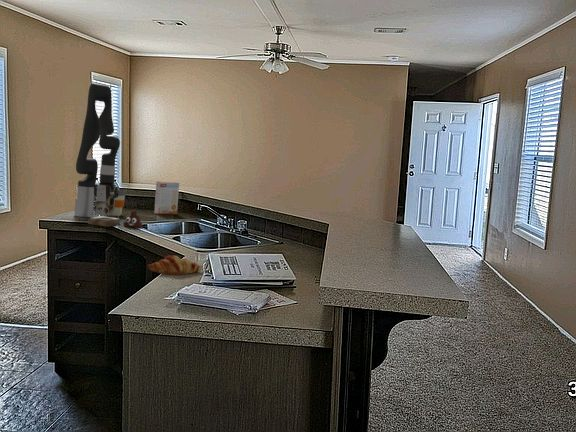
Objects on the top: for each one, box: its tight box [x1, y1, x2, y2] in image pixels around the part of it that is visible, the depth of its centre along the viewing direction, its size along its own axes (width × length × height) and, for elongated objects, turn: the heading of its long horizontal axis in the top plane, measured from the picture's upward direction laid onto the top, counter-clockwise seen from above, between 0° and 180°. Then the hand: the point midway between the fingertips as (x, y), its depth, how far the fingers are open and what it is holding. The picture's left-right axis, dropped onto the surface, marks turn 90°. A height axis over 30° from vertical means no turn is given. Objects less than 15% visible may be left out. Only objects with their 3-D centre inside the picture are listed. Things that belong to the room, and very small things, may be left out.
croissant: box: [147, 254, 203, 276], centre depth 225 cm, size 21×10×8 cm, turn 120°
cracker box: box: [153, 180, 180, 215], centre depth 386 cm, size 14×6×21 cm, turn 133°
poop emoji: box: [123, 209, 143, 229], centre depth 321 cm, size 10×8×9 cm
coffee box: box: [95, 183, 117, 217], centre depth 319 cm, size 9×6×16 cm
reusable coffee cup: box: [111, 188, 127, 217], centre depth 359 cm, size 13×12×15 cm
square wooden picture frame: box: [87, 215, 121, 228], centre depth 320 cm, size 12×12×3 cm
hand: (105, 204), depth 319 cm, fingers closed on coffee box, 6 cm apart
